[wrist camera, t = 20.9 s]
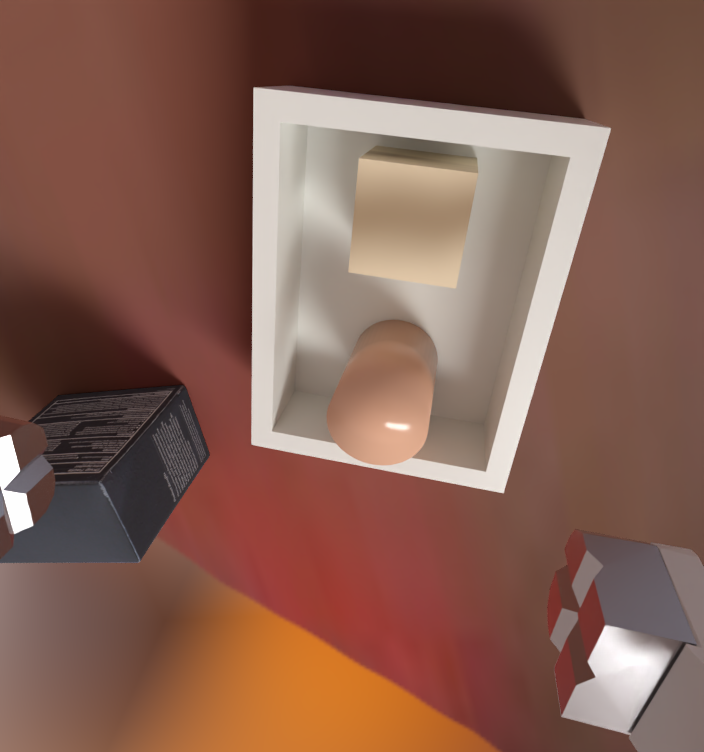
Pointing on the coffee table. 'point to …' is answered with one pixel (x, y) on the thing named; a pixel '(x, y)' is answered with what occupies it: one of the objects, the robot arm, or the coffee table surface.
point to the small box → (112, 474)
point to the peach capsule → (385, 394)
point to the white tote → (403, 298)
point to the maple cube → (412, 215)
